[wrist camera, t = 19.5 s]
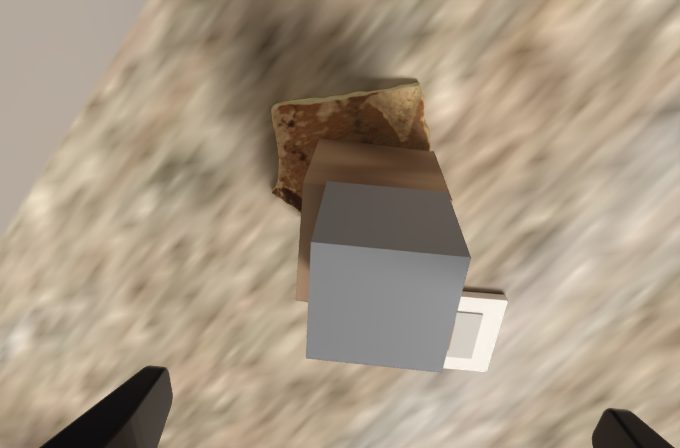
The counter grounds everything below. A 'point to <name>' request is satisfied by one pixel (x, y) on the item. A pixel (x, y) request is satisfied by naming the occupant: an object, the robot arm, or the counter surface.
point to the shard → (344, 128)
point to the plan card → (475, 331)
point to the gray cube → (384, 277)
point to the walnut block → (358, 168)
